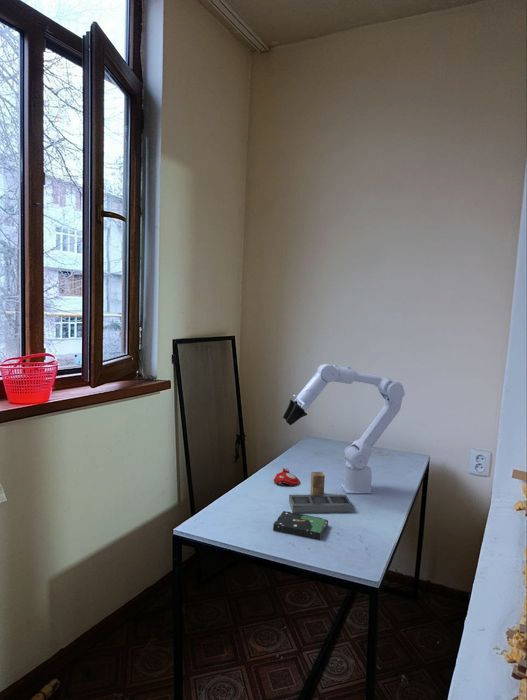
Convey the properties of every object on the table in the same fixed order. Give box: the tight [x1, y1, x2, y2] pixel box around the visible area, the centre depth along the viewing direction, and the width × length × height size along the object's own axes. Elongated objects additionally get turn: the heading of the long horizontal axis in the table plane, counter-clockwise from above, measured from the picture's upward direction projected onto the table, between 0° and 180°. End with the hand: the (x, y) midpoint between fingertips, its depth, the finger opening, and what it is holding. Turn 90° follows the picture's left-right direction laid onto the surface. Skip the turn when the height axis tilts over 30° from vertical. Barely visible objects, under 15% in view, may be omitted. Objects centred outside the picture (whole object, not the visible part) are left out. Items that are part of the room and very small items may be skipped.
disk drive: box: [272, 510, 329, 541], centre depth 149 cm, size 10×3×15 cm
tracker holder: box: [273, 466, 300, 487], centre depth 187 cm, size 13×5×10 cm
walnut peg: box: [310, 471, 326, 495], centre depth 174 cm, size 4×4×8 cm
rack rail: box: [288, 494, 354, 514], centre depth 164 cm, size 20×9×2 cm, turn 95°
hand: (286, 421), depth 174 cm, fingers open, 7 cm apart
